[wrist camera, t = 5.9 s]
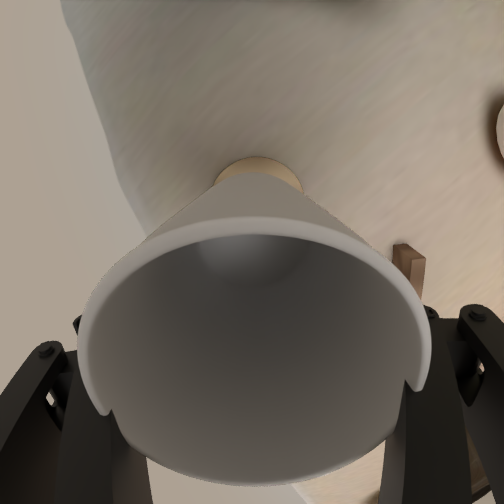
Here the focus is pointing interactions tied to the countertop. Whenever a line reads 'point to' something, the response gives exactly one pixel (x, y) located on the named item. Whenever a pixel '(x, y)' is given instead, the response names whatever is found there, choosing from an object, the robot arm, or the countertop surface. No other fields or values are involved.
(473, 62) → the countertop surface
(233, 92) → the countertop surface
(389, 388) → the mug
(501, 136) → the white bowl
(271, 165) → the coaster
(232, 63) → the countertop surface
